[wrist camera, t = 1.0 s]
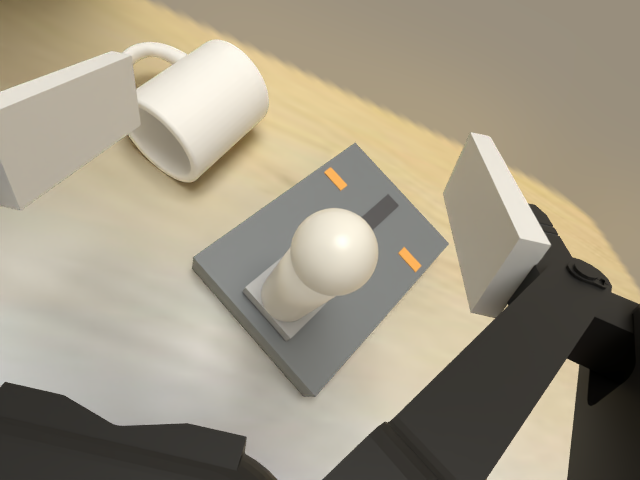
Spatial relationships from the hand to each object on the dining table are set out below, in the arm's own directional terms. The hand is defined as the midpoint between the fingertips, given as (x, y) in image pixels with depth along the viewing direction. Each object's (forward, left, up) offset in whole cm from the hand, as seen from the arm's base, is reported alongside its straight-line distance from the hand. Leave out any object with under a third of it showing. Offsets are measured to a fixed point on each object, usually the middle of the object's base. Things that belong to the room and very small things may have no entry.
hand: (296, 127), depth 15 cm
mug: (-14, +6, -20) cm, 26 cm away
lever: (+5, +1, -17) cm, 17 cm away
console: (+5, +8, -20) cm, 22 cm away
